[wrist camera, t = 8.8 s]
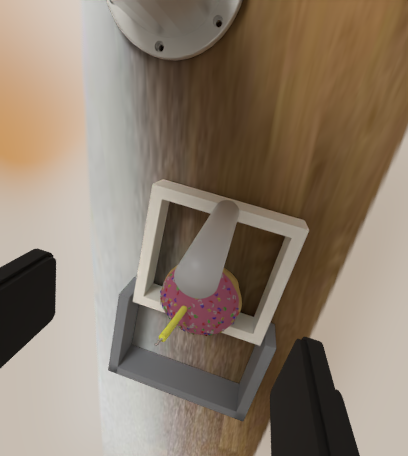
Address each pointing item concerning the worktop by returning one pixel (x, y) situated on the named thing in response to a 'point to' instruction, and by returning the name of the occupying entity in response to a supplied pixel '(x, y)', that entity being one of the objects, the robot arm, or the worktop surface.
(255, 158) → the worktop surface
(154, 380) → the holder bay
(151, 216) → the collar
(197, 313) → the pink frosted cake
